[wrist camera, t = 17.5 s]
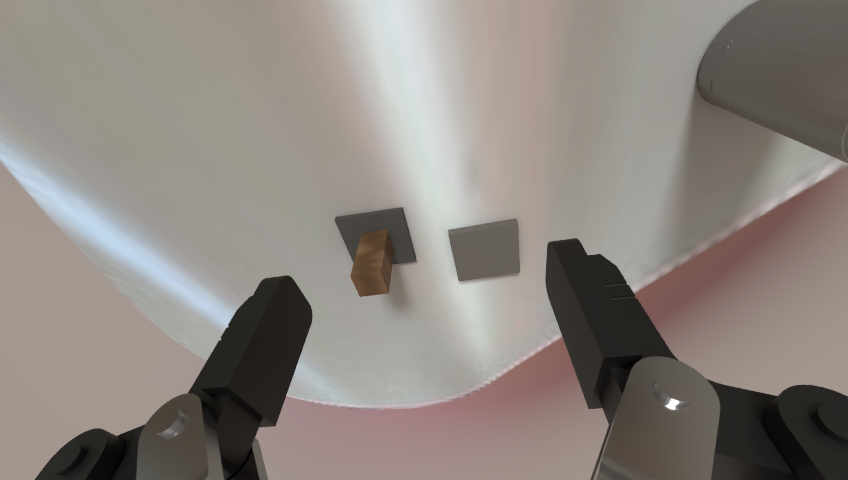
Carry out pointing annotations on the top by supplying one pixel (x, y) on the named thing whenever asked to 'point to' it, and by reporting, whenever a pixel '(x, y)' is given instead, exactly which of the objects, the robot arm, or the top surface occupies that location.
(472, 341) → the top surface
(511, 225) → the tile
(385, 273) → the block
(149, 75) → the top surface
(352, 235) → the mat
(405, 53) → the top surface
